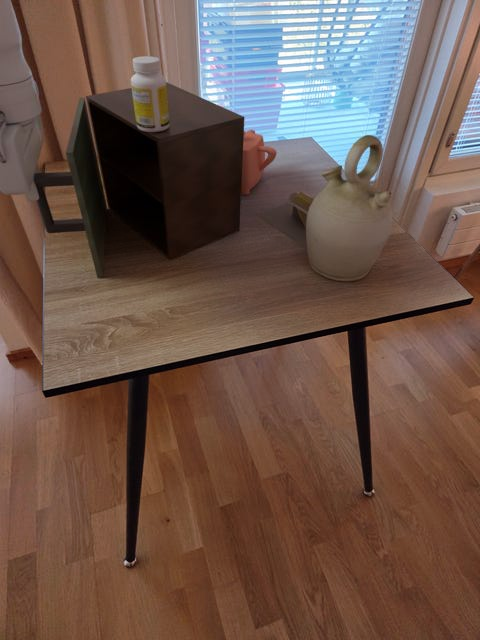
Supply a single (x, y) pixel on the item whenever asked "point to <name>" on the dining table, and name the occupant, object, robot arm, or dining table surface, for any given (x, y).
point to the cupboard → (171, 169)
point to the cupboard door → (79, 189)
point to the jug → (349, 217)
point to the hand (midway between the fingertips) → (35, 193)
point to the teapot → (254, 159)
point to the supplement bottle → (149, 95)
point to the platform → (290, 217)
